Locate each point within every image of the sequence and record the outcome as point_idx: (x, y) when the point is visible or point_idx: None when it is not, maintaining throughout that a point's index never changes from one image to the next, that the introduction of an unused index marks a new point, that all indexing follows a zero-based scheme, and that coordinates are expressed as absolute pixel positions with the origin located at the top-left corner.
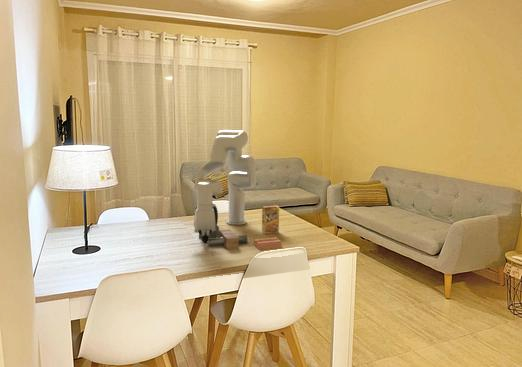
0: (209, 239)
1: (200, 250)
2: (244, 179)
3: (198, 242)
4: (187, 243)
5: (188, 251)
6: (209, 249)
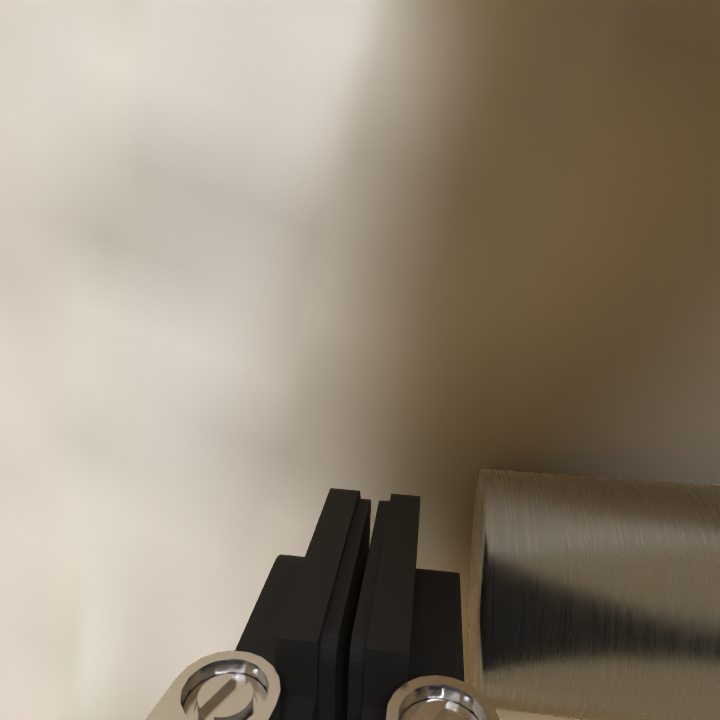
0: None
1: None
2: None
3: (298, 147)
4: (14, 133)
5: (15, 638)
6: None
